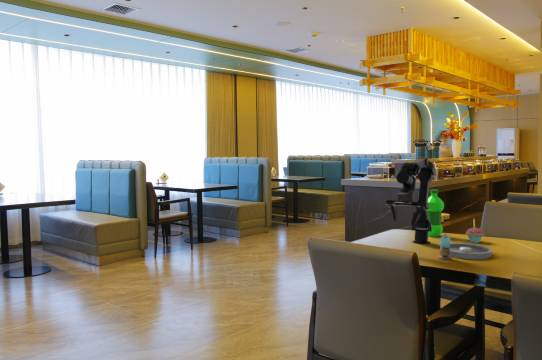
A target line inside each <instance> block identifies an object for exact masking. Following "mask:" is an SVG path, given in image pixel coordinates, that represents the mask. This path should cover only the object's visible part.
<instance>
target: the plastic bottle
mask: <svg viewBox="0 0 542 360" xmlns="http://www.w3.org/2000/svg"><path fill="white" fill-rule="evenodd" d="M429 193H430V195H429V196H428V203H429V209H427V213H428V215H429V220H430V222H431V225H432V231H430V232H428V237H435V238H437V237H439V236H440V235H441V234H442V233H443V231H444V227H443V225H442V211H443V210H444V208H445V203H444V200H442V199H441V198H440V197H439V196H438V194H439V189H429ZM424 229H425V228H424ZM427 229H428V228H427Z"/></svg>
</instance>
